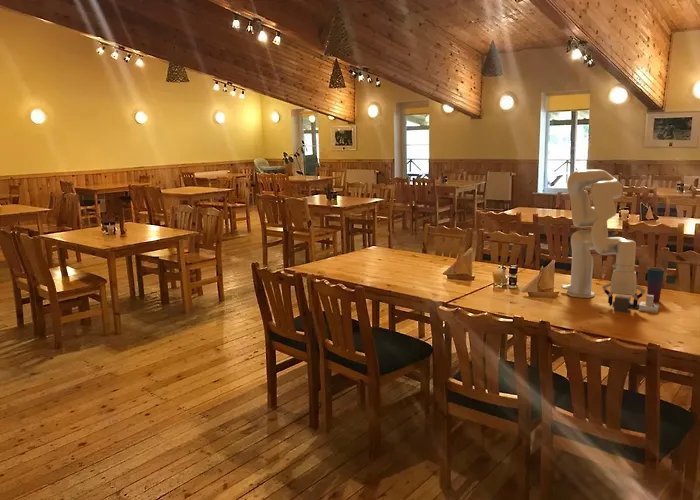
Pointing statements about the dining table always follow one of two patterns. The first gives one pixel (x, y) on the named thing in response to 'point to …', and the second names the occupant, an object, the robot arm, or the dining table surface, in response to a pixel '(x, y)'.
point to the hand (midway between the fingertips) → (622, 306)
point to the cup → (655, 282)
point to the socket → (622, 303)
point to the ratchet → (646, 305)
